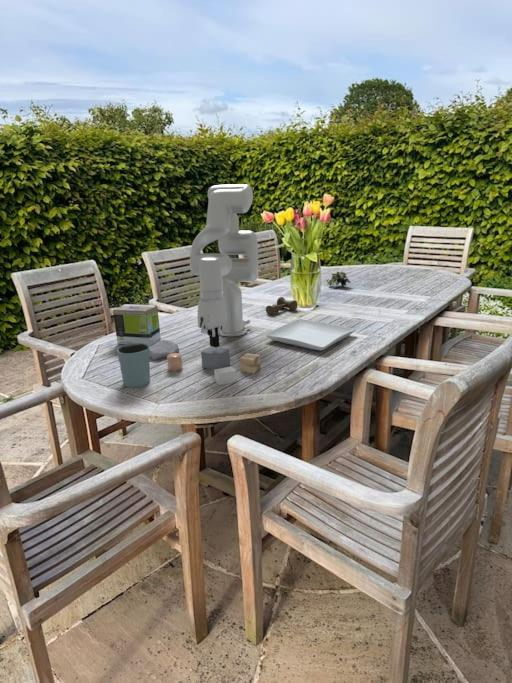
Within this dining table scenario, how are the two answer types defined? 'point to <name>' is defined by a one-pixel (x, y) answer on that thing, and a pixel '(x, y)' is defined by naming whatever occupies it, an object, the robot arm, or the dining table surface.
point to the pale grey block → (225, 375)
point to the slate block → (215, 358)
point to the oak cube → (250, 363)
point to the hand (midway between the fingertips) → (214, 346)
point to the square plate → (309, 334)
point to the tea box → (137, 324)
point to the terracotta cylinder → (174, 362)
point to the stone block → (162, 349)
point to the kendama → (281, 306)
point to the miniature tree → (338, 279)
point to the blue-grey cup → (134, 364)
